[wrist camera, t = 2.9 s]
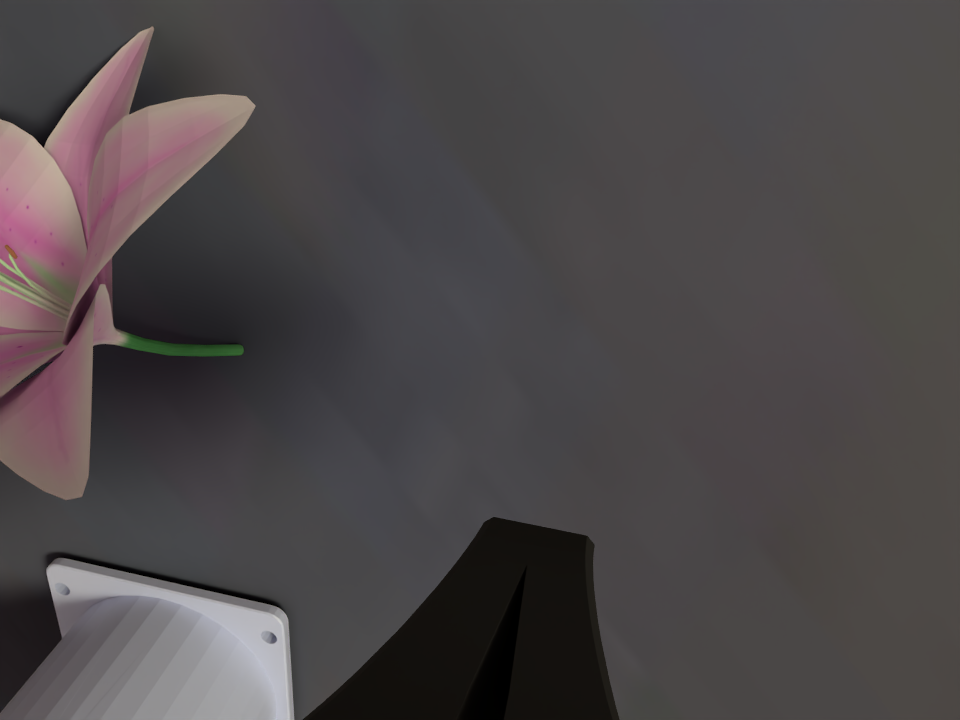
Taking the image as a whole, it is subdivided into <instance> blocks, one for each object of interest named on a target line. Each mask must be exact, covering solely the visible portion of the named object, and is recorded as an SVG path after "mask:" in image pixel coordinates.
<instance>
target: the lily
mask: <svg viewBox="0 0 960 720" xmlns="http://www.w3.org/2000/svg"><path fill="white" fill-rule="evenodd" d="M153 31H154V28H153V26H152V27H151V28H149V29H146V30H144V31H141V32H139V33H138V34H137V35H136V36H135V37H134V38H132V39H131V40H130V41H129V42H128V43H127V44H126V45H124V46H123V47H122V48H121V49H120V50H119V51H118V52H117V53H116V54H115V55H114V56H113V57H112V58H111V60H110V61H109V62H108V63H107V64H106V65H105V66H104V67H103V68H102V69H101V70H100V71H99V72H98V73H97V74H96V76H95V77H94V78H93V79H92V80H91V81H90V83H89V84H88V85H87V86H86V87H85V89H84V90H83V91H82V92H81V94H80V95H79V96H78V97H77V98H76V100H75V101H74V102H73V103H72V105H71V106H70V107H69V108H68V109H67V111H66V112H65V114H64V115H63V117H62V118H61V120H60V121H59V123H58V124H57V126H56V127H55V129H54V130H53V132H52V133H51V135H50V136H49V138H48V139H47V141H46V144H45V146H44V148H43V147H42V146H41V145H40V144H39V143H38V141H37V140H36V139H35V138H34V137H33V136H32V135H30V134H28V133H27V132H25V131H23V130H22V129H20V128H19V127H17V126H15V125H14V124H12V123H10V122H7V121H4V120H1V119H0V461H1V462H3V463H4V464H5V465H6V466H8V467H9V468H10V469H11V470H12V471H14V472H15V473H16V474H17V475H19V476H20V477H22V478H24V479H25V480H27V481H28V482H30V483H32V484H33V485H35V486H36V487H38V488H40V489H41V490H43V491H45V492H47V493H50V494H52V495H55V496H57V497H60V498H62V499H64V500H69V499H74V498H79V497H82V495H83V492H84V489H85V486H86V483H87V480H88V476H89V458H90V435H91V403H92V367H93V346H94V345H99V344H114V345H118V346H123V347H127V348H131V349H136V350H140V351H146V352H151V353H157V354H163V355H169V356H237V355H242V354H243V352H244V348H243V346H241V345H239V344H231V345H196V344H172V343H167V342H162V341H156V340H151V339H145V338H142V337H139V336H136V335H133V334H130V333H127V332H124V331H121V330H119V329H117V328H115V327H114V322H113V300H112V256H113V255H114V254H115V253H116V252H117V250H118V249H119V248H120V247H121V246H122V245H123V243H124V242H125V241H126V240H127V239H128V237H129V236H130V235H131V234H132V233H133V232H134V231H135V230H136V229H137V228H138V227H139V226H140V225H142V224H143V223H144V222H145V221H146V220H147V219H148V218H149V217H150V216H151V215H152V214H153V213H154V212H155V211H156V210H157V209H158V208H159V207H160V206H161V205H162V204H163V203H164V202H165V201H166V200H167V199H168V198H169V197H170V196H171V195H172V194H174V193H175V192H176V191H177V190H178V189H179V188H180V187H181V186H182V185H183V184H184V183H185V182H187V181H188V180H189V179H190V178H191V177H192V176H193V175H194V174H195V173H196V172H197V171H198V170H200V169H201V168H202V167H203V166H204V165H205V164H206V163H207V162H208V161H209V160H210V159H211V158H213V157H214V156H215V155H216V154H217V153H218V152H219V151H220V150H221V149H222V148H223V147H224V146H225V145H226V144H227V143H228V142H229V141H230V140H231V139H232V138H233V137H234V136H235V135H236V133H237V132H238V131H239V130H240V129H241V128H242V127H243V126H244V125H245V124H246V122H247V120H248V118H249V117H250V115H251V113H252V112H253V110H254V108H255V105H254V104H253V103H252V102H251V101H250V100H249V99H248V98H247V97H246V96H237V95H224V94H218V95H208V96H199V97H190V98H182V99H178V100H174V101H169V102H165V103H161V104H156V105H152V106H148V107H146V108H143V109H141V110H139V111H136V112H134V113H132V114H129V112H130V108H131V104H132V101H133V97H134V94H135V91H136V87H137V84H138V81H139V77H140V74H141V70H142V67H143V64H144V61H145V57H146V54H147V51H148V48H149V44H150V41H151V38H152V35H153ZM54 360H55V361H54ZM51 361H54V362H52V363H51V364H50V365H49V366H47V367H46V368H45V369H44V370H43V371H41V372H40V373H38V374H36V375H35V376H33V377H31V378H30V379H28V380H26V381H25V382H23V383H22V384H20V385H18V386H17V387H15V388H13V387H14V386H15V385H17V384H18V383H19V382H20V381H22V380H23V379H24V378H25V377H27V376H28V375H29V374H31V373H32V372H33V371H34V370H36V369H37V368H38V367H40V366H41V365H43V364H45V363H48V362H51ZM12 388H13V389H12ZM10 389H12V390H10ZM9 390H10V391H9Z"/></svg>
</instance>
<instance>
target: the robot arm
mask: <svg viewBox="0 0 960 720" xmlns="http://www.w3.org/2000/svg"><path fill="white" fill-rule="evenodd" d="M593 553H594V544H593V542H592V541H591V540H590V539H589V537H588V536H586V535H581V534H576V533H571V532H566V531H561V530H556V529H551V528H546V527H541V526H536V525H531V524H526V523H521V522H516V521H511V520H506V519H501V518H496V517H493V518H491V519H489V520H487V521H485V522H484V523H483V525H482V527H481V528H480V530H479V532H478V533H477V535H476V536H475V538H474V539H473V540H472V542H471V543H470V545H469V546H468V548H467V549H466V550H465V552H464V553H463V554H462V556H461V557H460V558H459V560H458V561H457V562H456V564H455V565H454V566H453V567H452V569H451V570H450V571H449V572H448V574H447V575H446V576H445V577H444V579H443V580H442V581H441V582H440V584H439V585H438V586H437V587H436V588H435V589H434V591H433V592H432V593H431V594H430V595H429V596H428V597H427V599H426V600H425V601H424V602H423V603H422V604H421V605H420V606H419V608H418V609H417V610H416V611H415V612H414V613H413V614H412V616H411V617H410V618H409V619H408V620H407V621H406V622H405V623H404V625H403V626H402V627H401V628H400V629H399V630H398V631H397V632H396V633H395V634H394V635H393V636H392V637H391V638H390V639H389V640H388V641H387V642H386V643H385V644H384V645H383V646H382V647H381V648H380V649H379V650H378V651H377V652H376V653H375V654H374V655H373V656H372V657H371V658H370V659H369V660H368V661H367V662H366V663H365V664H364V665H363V666H362V667H361V668H360V669H359V670H358V671H357V672H356V673H355V674H354V675H353V676H352V677H351V678H350V679H348V680H347V681H346V682H345V683H344V684H343V685H342V686H341V687H340V688H339V689H338V690H336V691H335V692H334V693H333V694H332V695H331V696H330V697H329V698H327V699H326V700H325V701H324V702H323V703H322V704H321V705H319V706H318V707H317V708H316V709H315V710H313V711H312V712H311V713H310V714H309V715H308V716H306V717H305V718H304V719H303V720H619V716H618V713H617V709H616V705H615V701H614V697H613V693H612V689H611V685H610V681H609V676H608V671H607V666H606V661H605V657H604V652H603V647H602V642H601V637H600V631H599V625H598V618H597V610H596V602H595V594H594V581H593ZM46 573H47V577H48V582H49V586H50V590H51V594H52V598H53V602H54V606H55V611H56V615H57V619H58V623H59V627H60V631H61V636H62V640H61V641H60V642H59V643H58V644H57V646H56V647H55V648H54V649H53V650H52V652H51V653H50V654H49V655H48V656H47V658H46V659H45V660H44V661H43V662H42V663H41V665H40V666H39V667H38V668H37V669H36V671H35V672H34V673H33V674H32V675H31V677H30V678H29V679H28V680H27V681H26V683H25V684H24V685H23V686H22V687H21V689H20V690H19V691H18V692H17V693H16V695H15V696H14V697H13V698H12V699H11V701H10V702H9V703H8V704H7V705H6V707H5V708H4V709H3V710H2V711H1V712H0V720H294V707H293V690H292V674H291V657H290V641H289V624H288V618H287V615H286V614H285V613H284V612H283V610H281V609H280V608H278V607H276V606H273V605H269V604H265V603H260V602H256V601H251V600H247V599H243V598H238V597H234V596H229V595H225V594H221V593H216V592H212V591H207V590H203V589H199V588H194V587H190V586H185V585H181V584H176V583H172V582H168V581H163V580H159V579H154V578H150V577H146V576H141V575H137V574H132V573H128V572H124V571H119V570H115V569H110V568H106V567H102V566H97V565H93V564H88V563H84V562H80V561H75V560H71V559H66V558H57V559H54V561H53V562H52V563H51V564H50V565H49V566H48V567H47V569H46ZM271 632H272V633H271Z"/></svg>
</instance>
